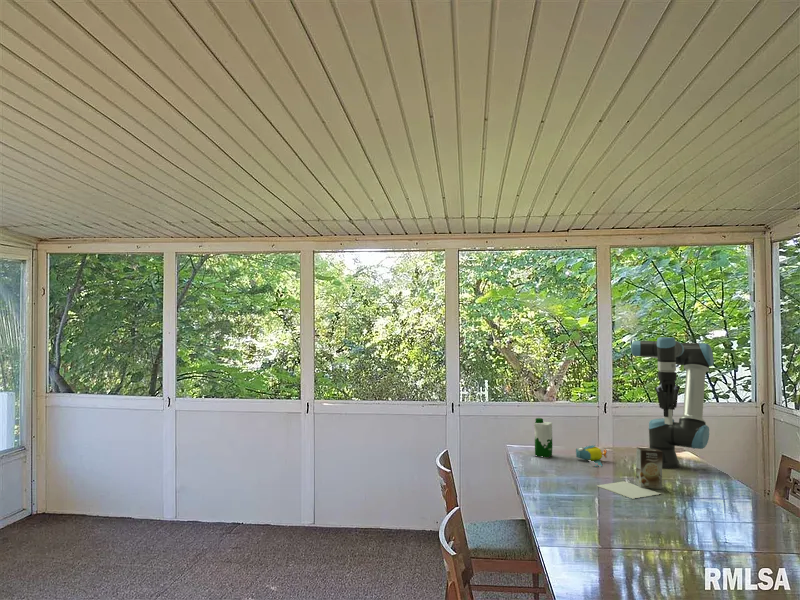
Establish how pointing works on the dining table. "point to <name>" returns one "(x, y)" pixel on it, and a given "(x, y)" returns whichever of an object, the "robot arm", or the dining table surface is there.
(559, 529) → the dining table surface
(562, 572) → the dining table surface
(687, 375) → the robot arm
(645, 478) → the coffee box
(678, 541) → the dining table surface
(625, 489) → the mat
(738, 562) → the dining table surface
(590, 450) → the yellow teal toy
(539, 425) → the milk carton
